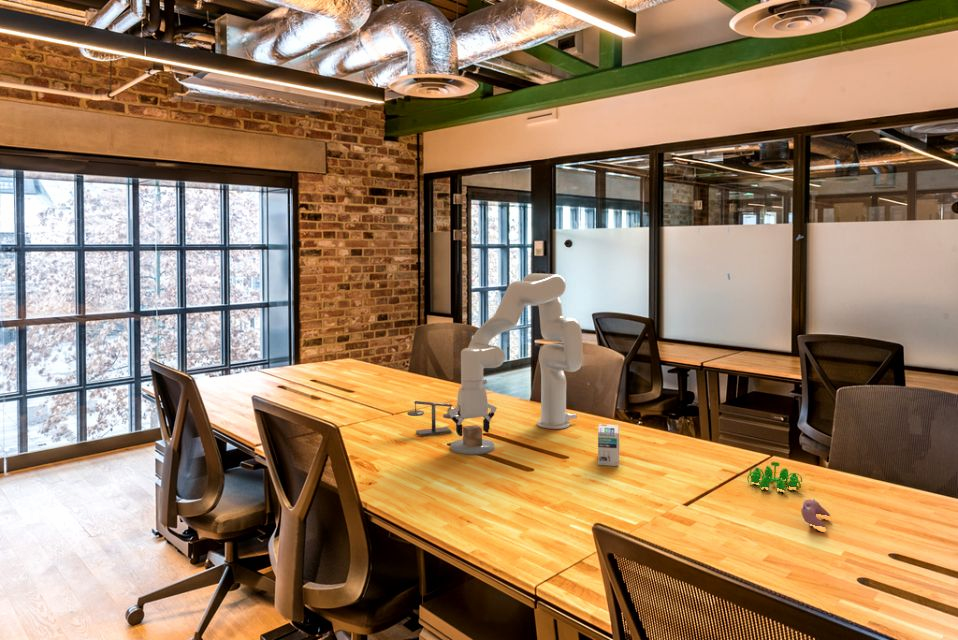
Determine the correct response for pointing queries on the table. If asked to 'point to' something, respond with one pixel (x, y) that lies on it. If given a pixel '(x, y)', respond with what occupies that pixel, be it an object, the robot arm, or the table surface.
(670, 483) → the table surface
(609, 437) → the light bulb box
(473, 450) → the dish
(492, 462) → the table surface
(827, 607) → the table surface
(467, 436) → the walnut block
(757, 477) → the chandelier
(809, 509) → the purple rounded piece
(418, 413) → the balance
